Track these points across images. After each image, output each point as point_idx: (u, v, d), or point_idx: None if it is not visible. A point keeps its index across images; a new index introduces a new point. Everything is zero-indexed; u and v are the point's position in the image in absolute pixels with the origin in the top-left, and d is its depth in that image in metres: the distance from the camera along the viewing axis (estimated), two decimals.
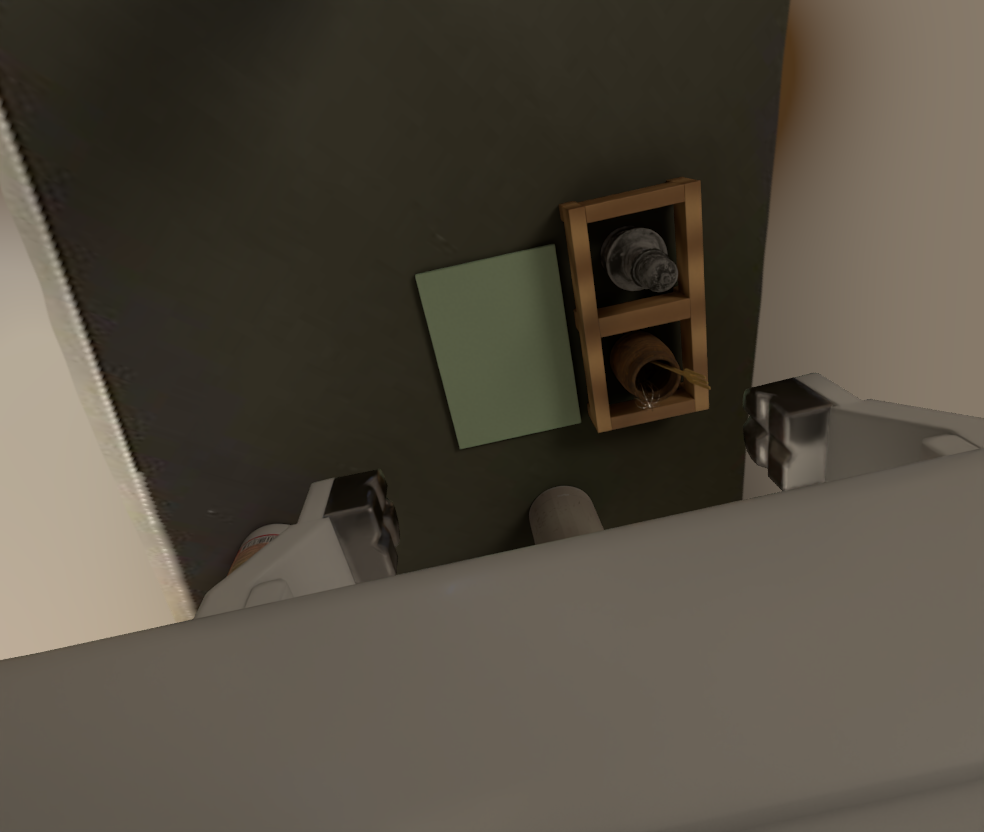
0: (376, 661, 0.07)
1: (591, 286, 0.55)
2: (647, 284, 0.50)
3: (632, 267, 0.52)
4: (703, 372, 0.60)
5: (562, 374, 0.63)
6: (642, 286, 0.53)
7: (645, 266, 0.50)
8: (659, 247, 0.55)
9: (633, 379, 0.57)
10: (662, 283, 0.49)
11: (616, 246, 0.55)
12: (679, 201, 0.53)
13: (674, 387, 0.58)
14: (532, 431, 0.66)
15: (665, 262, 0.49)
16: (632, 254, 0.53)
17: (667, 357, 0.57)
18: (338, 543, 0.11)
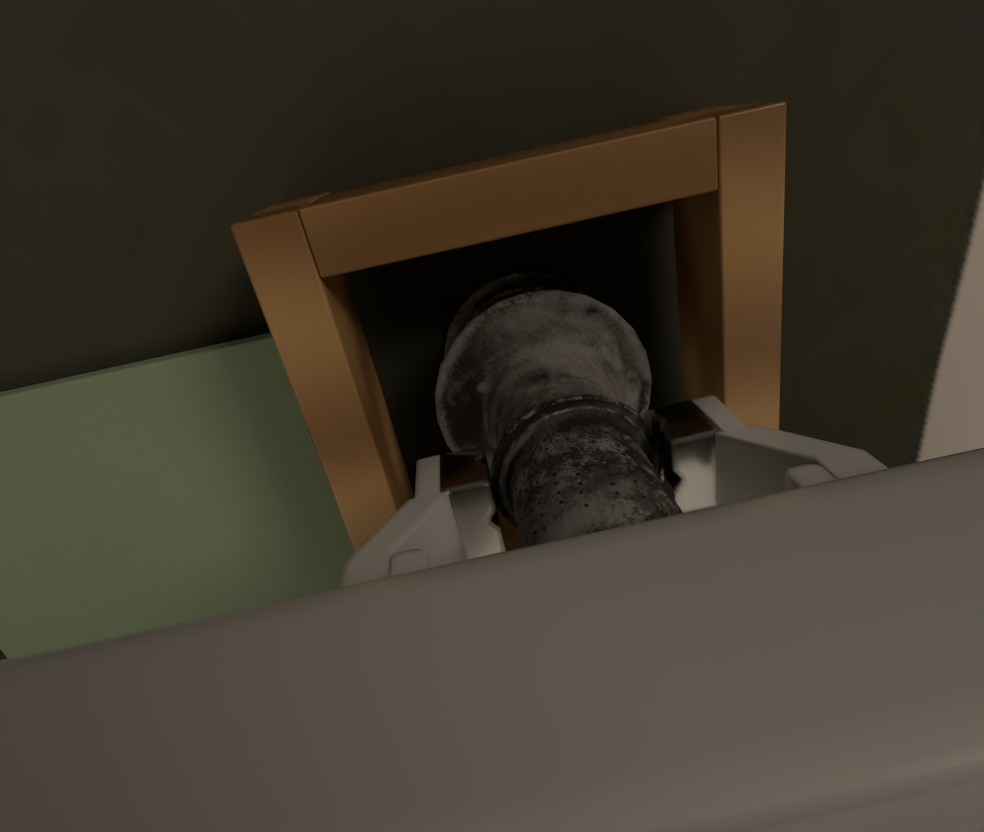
0: (376, 661, 0.07)
1: (380, 494, 0.16)
2: None
3: (496, 472, 0.12)
4: None
5: None
6: None
7: (535, 508, 0.10)
8: (622, 358, 0.15)
9: None
10: None
11: (462, 355, 0.15)
12: (696, 190, 0.13)
13: None
14: None
15: (631, 514, 0.09)
16: (512, 398, 0.14)
17: None
18: (454, 518, 0.11)
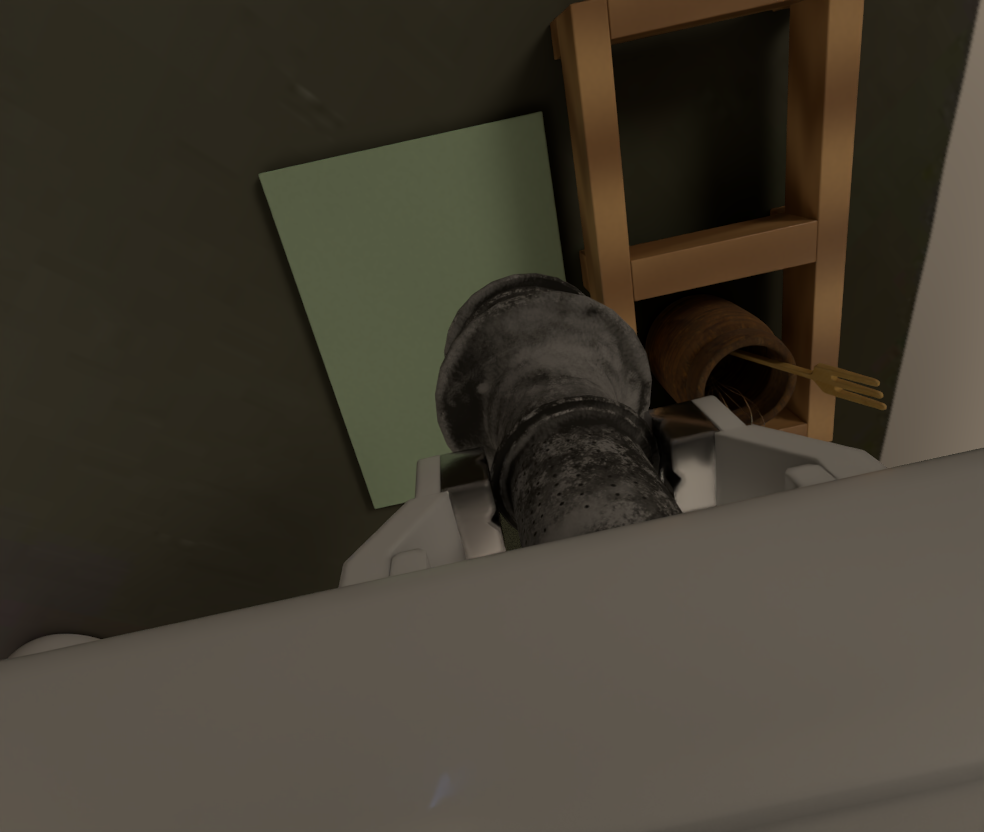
0: (376, 661, 0.07)
1: (618, 190, 0.26)
2: None
3: (496, 474, 0.12)
4: None
5: None
6: None
7: (535, 510, 0.10)
8: (622, 359, 0.15)
9: (701, 386, 0.28)
10: None
11: (462, 356, 0.15)
12: None
13: (781, 402, 0.29)
14: None
15: (631, 515, 0.09)
16: (512, 399, 0.14)
17: (773, 341, 0.27)
18: (454, 518, 0.11)
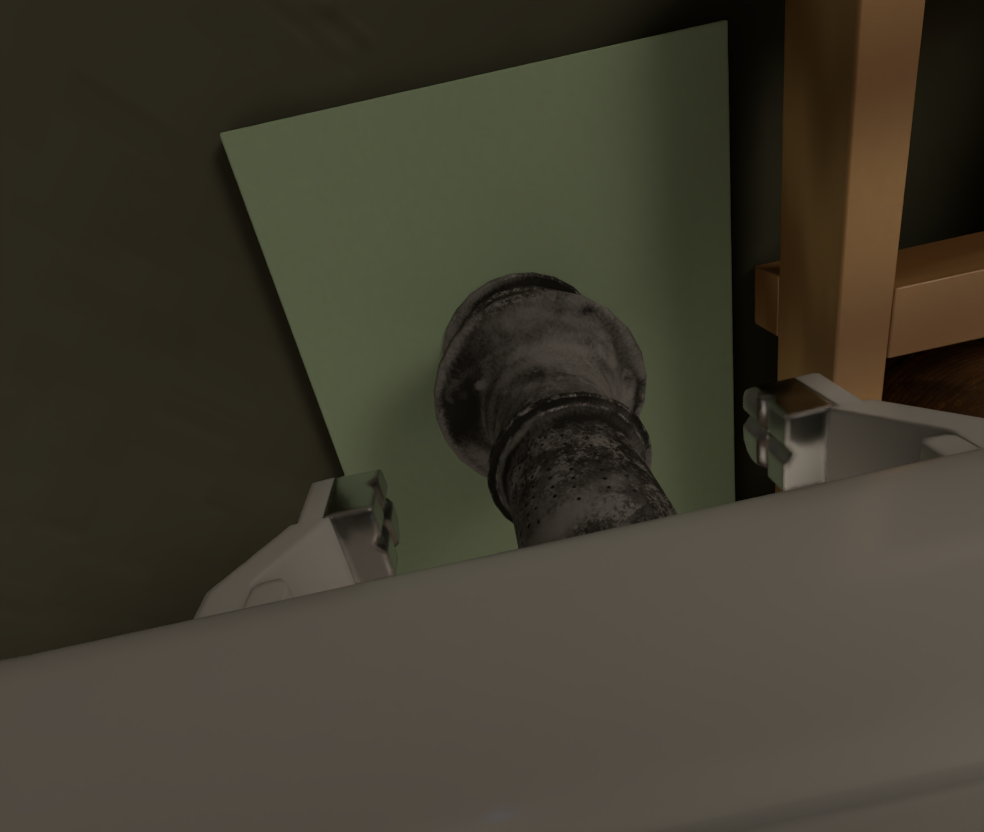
0: (376, 661, 0.07)
1: (898, 156, 0.14)
2: None
3: (493, 468, 0.12)
4: None
5: (703, 460, 0.22)
6: None
7: (529, 502, 0.10)
8: (617, 357, 0.15)
9: None
10: None
11: (460, 353, 0.15)
12: None
13: None
14: None
15: (622, 507, 0.09)
16: (509, 396, 0.14)
17: None
18: (338, 543, 0.11)
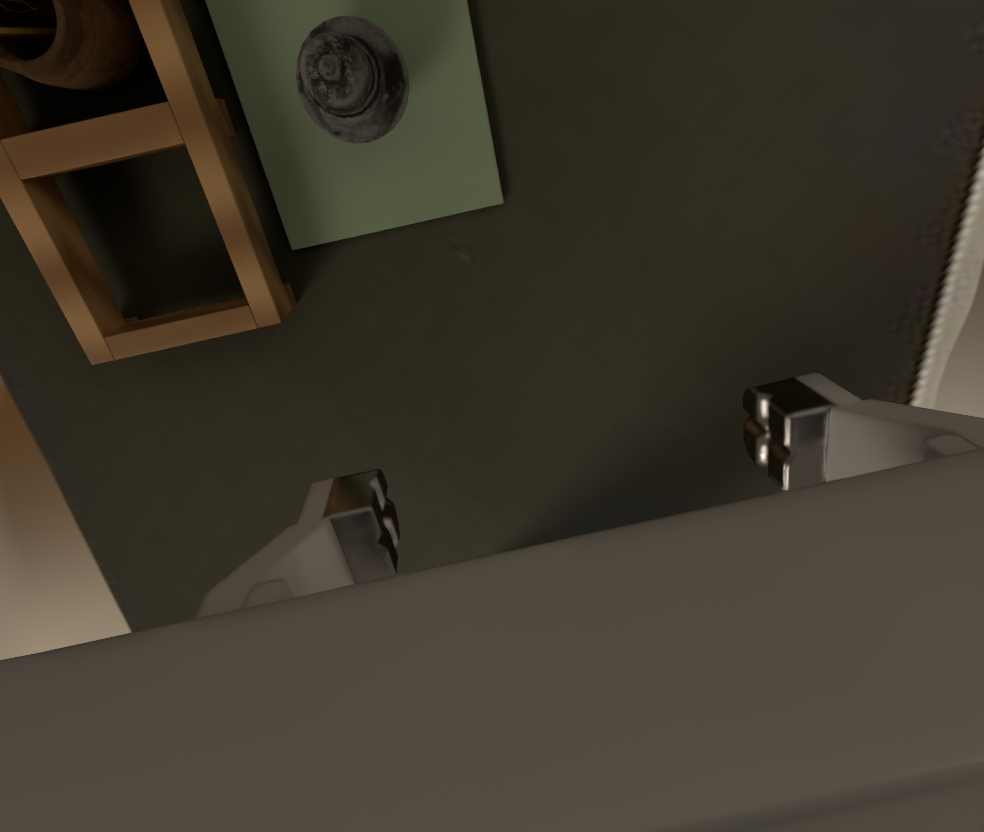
0: (376, 661, 0.07)
1: (214, 204, 0.33)
2: (359, 51, 0.25)
3: (379, 79, 0.28)
4: None
5: None
6: (351, 37, 0.27)
7: (365, 89, 0.26)
8: (317, 107, 0.31)
9: (59, 10, 0.26)
10: (333, 55, 0.24)
11: (396, 111, 0.32)
12: (112, 337, 0.35)
13: None
14: None
15: (333, 102, 0.25)
16: None
17: (4, 65, 0.27)
18: (339, 543, 0.11)
